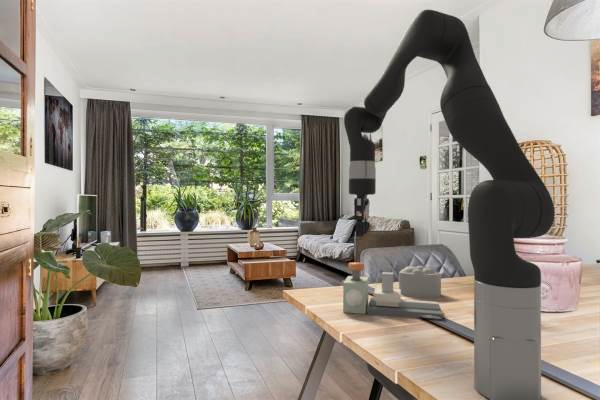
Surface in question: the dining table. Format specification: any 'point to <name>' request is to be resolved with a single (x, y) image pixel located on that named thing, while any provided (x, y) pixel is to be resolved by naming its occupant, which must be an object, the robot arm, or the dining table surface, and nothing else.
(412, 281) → the grey lumpy-topped block
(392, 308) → the rail board
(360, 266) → the button
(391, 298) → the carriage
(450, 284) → the dining table surface
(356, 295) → the end cabinet
